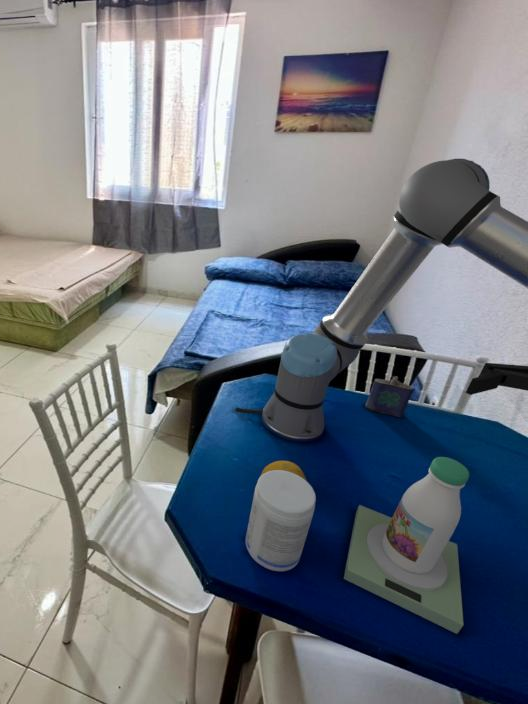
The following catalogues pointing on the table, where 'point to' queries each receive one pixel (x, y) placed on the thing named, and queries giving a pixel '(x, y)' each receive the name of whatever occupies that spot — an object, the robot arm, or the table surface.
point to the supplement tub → (279, 519)
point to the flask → (389, 396)
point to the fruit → (284, 468)
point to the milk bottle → (426, 517)
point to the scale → (404, 574)
